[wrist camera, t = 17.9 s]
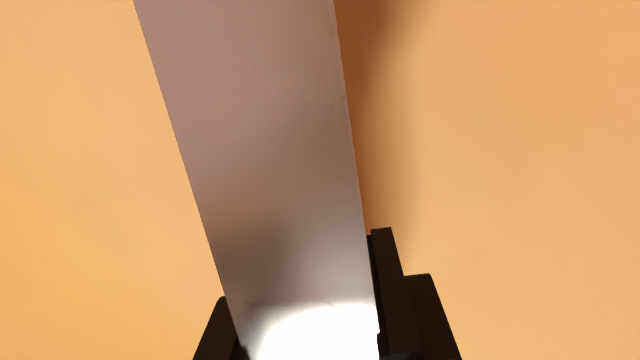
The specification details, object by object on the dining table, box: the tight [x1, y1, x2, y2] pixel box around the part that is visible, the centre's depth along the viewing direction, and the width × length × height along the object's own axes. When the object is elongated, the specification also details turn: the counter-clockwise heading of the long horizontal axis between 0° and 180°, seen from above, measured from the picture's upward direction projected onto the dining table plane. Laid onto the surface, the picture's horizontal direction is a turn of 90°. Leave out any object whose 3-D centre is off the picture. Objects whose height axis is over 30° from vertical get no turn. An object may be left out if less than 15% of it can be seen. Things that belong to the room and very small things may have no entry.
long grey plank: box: [133, 0, 380, 360], centre depth 9 cm, size 20×2×5 cm, turn 10°
